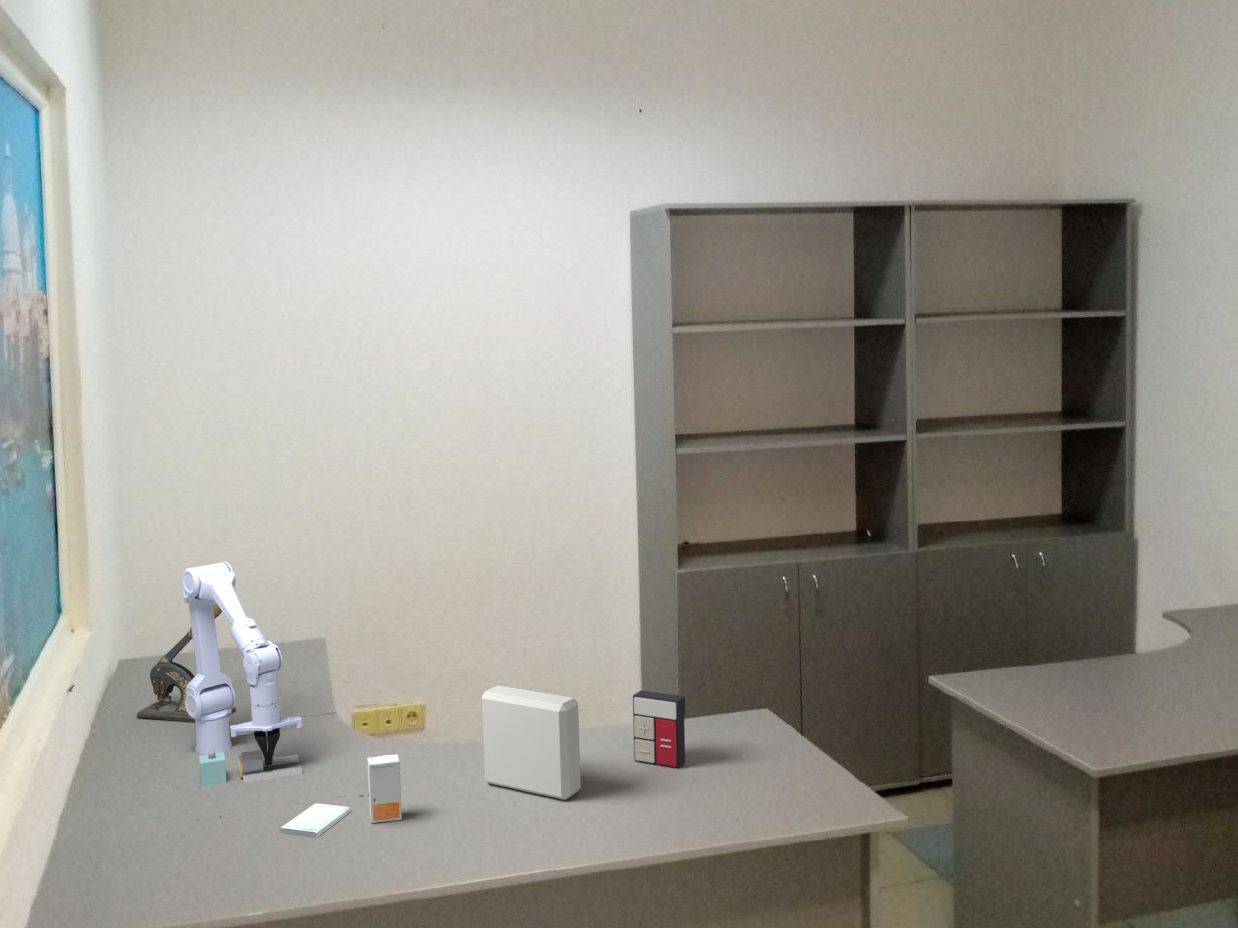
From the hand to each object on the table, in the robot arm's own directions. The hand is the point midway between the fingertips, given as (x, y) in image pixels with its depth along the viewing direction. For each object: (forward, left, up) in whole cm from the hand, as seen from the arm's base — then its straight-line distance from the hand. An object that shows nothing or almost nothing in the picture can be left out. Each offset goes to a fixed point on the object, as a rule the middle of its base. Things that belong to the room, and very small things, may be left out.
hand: (268, 763), depth 254 cm
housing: (0, -11, -2) cm, 11 cm away
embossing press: (-52, -16, -3) cm, 54 cm away
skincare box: (+32, +19, -3) cm, 38 cm away
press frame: (0, -5, -3) cm, 5 cm away
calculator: (+27, +79, -3) cm, 84 cm away
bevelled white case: (+29, +50, -3) cm, 58 cm away
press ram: (0, -3, -2) cm, 4 cm away
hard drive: (+28, +6, -4) cm, 29 cm away
